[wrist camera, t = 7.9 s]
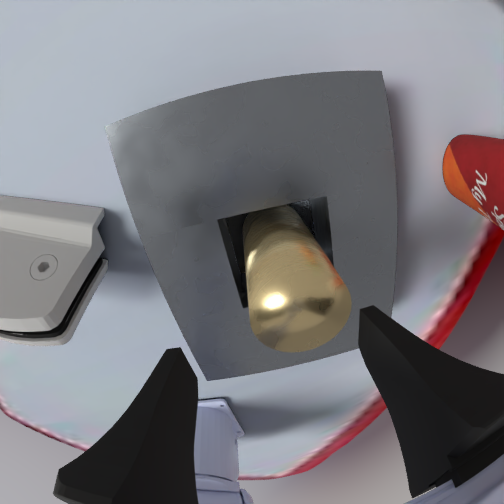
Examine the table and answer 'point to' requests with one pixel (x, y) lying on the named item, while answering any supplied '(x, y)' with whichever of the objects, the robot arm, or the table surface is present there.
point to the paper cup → (477, 174)
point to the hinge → (47, 268)
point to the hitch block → (261, 200)
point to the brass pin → (291, 283)
